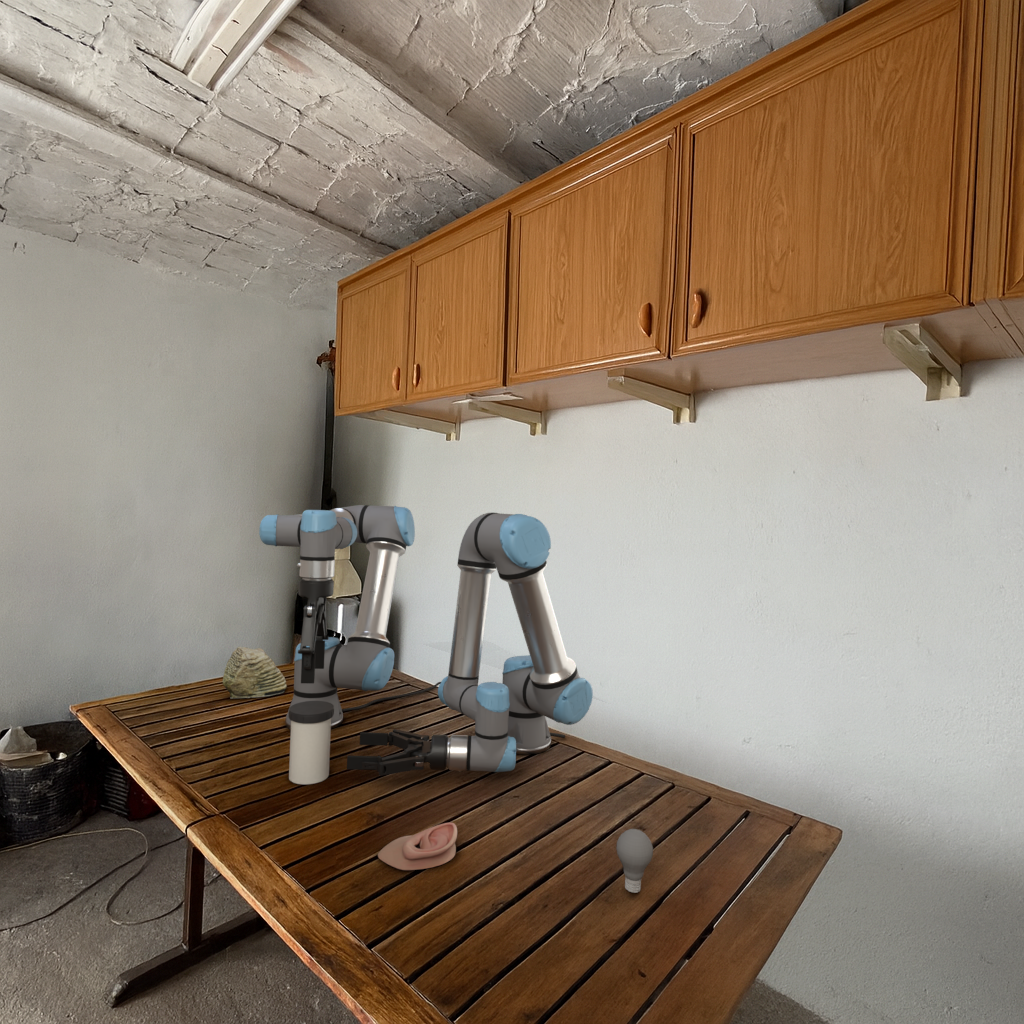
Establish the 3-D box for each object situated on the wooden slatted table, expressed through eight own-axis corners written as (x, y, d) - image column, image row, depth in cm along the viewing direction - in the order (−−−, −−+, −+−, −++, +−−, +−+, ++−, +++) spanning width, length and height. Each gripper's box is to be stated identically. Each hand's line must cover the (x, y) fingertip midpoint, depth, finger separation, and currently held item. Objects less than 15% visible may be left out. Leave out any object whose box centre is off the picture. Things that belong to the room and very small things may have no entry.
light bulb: (610, 879, 108) (613, 822, 108) (644, 879, 109) (647, 822, 109) (619, 902, 102) (622, 840, 102) (655, 901, 103) (658, 840, 103)
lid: (279, 719, 140) (279, 710, 140) (307, 706, 149) (307, 698, 149) (315, 726, 137) (315, 717, 137) (342, 712, 146) (342, 704, 146)
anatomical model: (371, 842, 110) (396, 811, 121) (370, 865, 110) (395, 831, 121) (444, 854, 107) (463, 821, 118) (443, 877, 107) (462, 842, 118)
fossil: (218, 695, 195) (220, 647, 195) (278, 685, 208) (279, 640, 207) (228, 703, 189) (230, 653, 188) (289, 692, 201) (290, 645, 201)
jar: (280, 780, 141) (283, 712, 140) (305, 765, 149) (308, 701, 149) (312, 787, 138) (315, 718, 138) (336, 772, 146) (339, 706, 146)
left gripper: (310, 571, 154) (306, 661, 154) (287, 585, 130) (283, 691, 131) (341, 572, 155) (338, 662, 155) (324, 586, 131) (320, 691, 132)
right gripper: (443, 794, 132) (340, 791, 131) (450, 747, 157) (364, 744, 156) (445, 758, 132) (342, 755, 131) (451, 717, 156) (365, 714, 156)
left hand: (312, 675), depth 143 cm, fingers open, 11 cm apart
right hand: (353, 749), depth 143 cm, fingers open, 13 cm apart
